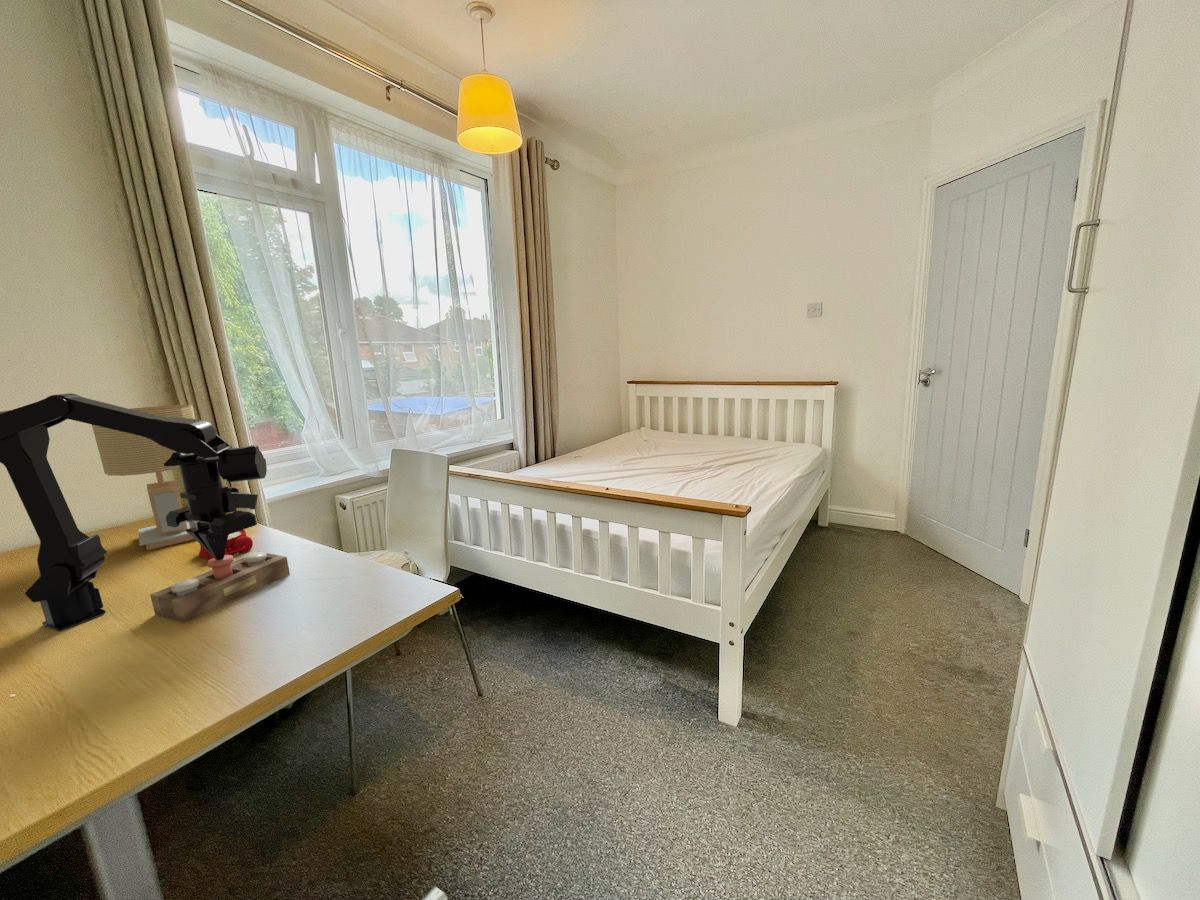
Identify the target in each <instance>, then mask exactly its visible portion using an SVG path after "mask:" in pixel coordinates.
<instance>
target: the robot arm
mask: <svg viewBox="0 0 1200 900" xmlns="http://www.w3.org/2000/svg"><path fill="white" fill-rule="evenodd" d="M67 420H72V421H75V422H80V423H85V424H88V425H91V426H92V425H96V426H100V427H105V428H109V429H113V430H117V431H122V432H126V433H130V434H135V435H139V436H143V437H146V438H148V439H151V440H152V441H154V442H156V443H157V444H159V445H161V446H163V447H166V448H168V449H171V450H174V451H176V452H175V453H173V454H172V455H171V457H170V458H169V459H168V460H167V461H166V462H165V463H164V466H177V465H179V468H178V469H179V471H180V477H181V480H182V484H183V490H184V492H179V494H180V499H185V500H187V506H184V507H183V508H181V509H177V510H173V511H170V512H169V513H168V515H167V516H166V521H167V525H168V526H171V527H177V526H179V524H180V522H184V521H186V522H189V525H190V529H187V530H186V532H187V533H189V534H190V535H191V536H192V537H193V538H194V540H195V541H196V542H198V543H199V545H200V544H201V545H202V546H203V547H204V548H205V549H206V550H207V551H208V552H209V553H210V554H211V555H212V556H213V557H214V558H215V559H216V560H221V559H223V558H224V555H225V549H226V544H227V539H228V536H229V534H232V533H235V532H238V531H241V530H245V529H249V528H253V527H255V526H257V525H258V521H257V515H256V514H254V513H252V512H250V511H246V510H245V511H244V510H237V509H249V510H257V504H258V499H259V498H258V497H259V494H256V493H250V492H249V493H248V492H240V491H239V489H238V488H237V487H233V486H232V487H231V486H230V487H229V486H225V485H223V482H222V480H226V481H227V482H228V483H233V482H234V483H235V482H242V481H243V482H244V481H252V480H253V481H254V480H263V479H265V478H266V476H267V466H268V465H267V460H266V458H265V457H264V455H263V453H262V451H260V449H259V448H260V447H259V445H258V444H254V445H253V444H251V445H249V446H242V447H233V446H232V445H231V444H229V442H227V441H226V440H225V439H223V438H222V437H221V436H220V435H218V434H217V433H216V429H215V428H214V426H213V425H212V423H210V422H208V421H206V420H205V419H204V420H203V419H196V418H195V419H189V418H178V417H162V416H156V415H152V414H148V413H144V412H140V411H136V410H132V409H131V408H126V407H123V406H120V405H116V404H115V405H114V404H111V403H107V402H103V401H98V400H95V399H91V398H88V397H87V398H86V397H83V396H82V395H81V396H80V395H79V394H76V393H69V392H68V393H60V394H52V395H49V396H47V397H46V398H43V399H41V400H39V401H35V402H32V403H29V404H26V405H23V406H20V407H16V408H13V409H11V410H3V411H0V463H1V464H2V465H3V466H4V468H5V469H6V471H7V473H8V475H9V477H10V480H11V482H12V484H13V485H14V488H15V490H16V492H17V495H18V497H19V498H20V501H21V503H22V505H23V508H24V509H25V511H26V513H27V516H28V518H29V520H30V522H31V524H32V526H33V529H34V531H35V533H36V535H37V537H38V540H39V546H38V547H39V548H38V553H37V557H36V563H37V567H38V571H39V577H38V579H36V580H35V581H34V583H33V584H31V585H30V587H29V588H28V589H27V590H26V591H25V592H24V594H25V595H26V597H27V598H28V599H29V600H30V601H31V602H32V603H38V602H39V603H40V607H41V609H42V613H43V616H44V619H45V621H42V622H41V624H42V626H44V627H47V628H49V629H53V630H56V631H58V632H60V631H64V630H65V629H68V628H71V627H73V626H76V625H79V624H82V623H84V622H86V621H89V620H91V619H94V618H96V617H99V616H101V615H103V614H106V609H103V608H104V604H103V600H102V596H101V594H100V590H99V588H97V587H95V586H94V582H92V581H91V580H94V579H95V578H96V577H97V574H98V570H99V569H101V567H102V565H103V564H104V563H105V559H106V558H105V555H106V554H107V553H108V551H107V550H106V549H105V548H104V547H103V545H102V541H101V537H100V535H99V534H97V533H96V534H93V535H91V536H88V535H87V534H85V533H84V532H82V531H81V530H80V529H79V528H78V525H77V523H76V521H75V519H74V517H73V514H72V512H71V510H70V507H69V506H68V503H67V500H66V499H65V497H64V494H63V492H62V490H61V488H60V485H59V483H58V481H57V478H56V476H55V474H54V472H53V469H52V467H51V464H50V463H49V460H48V455H47V454H48V449H49V445H50V441H51V440H50V435H49V431H48V429H49V428H52V427H54V426H57V425H59V424H61V423H63V422H65V421H67ZM183 453H184V454H183ZM190 453H193V454H190ZM185 454H189V455H185Z"/></svg>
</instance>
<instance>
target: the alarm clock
mask: <svg viewBox="0 0 1200 900" xmlns="http://www.w3.org/2000/svg"><path fill="white" fill-rule="evenodd" d="M253 545H254V542H253V539H252V538H251V537H250V536H247V532H246V530H245V529H243V530H241V531H238V532H235V533H232V534H229V536H228V539H227V544H226V549H225V555H232V556H233V555H235V554H245V553H247V552H249V551H250V550H251V549H252V548H253ZM199 547H200V548H199V552H198V556H199V558H201V559H206V560H208V561H209V560H210V559H212V558H214V557H213V556H212V555H211V554H210V553H209V552H208V551H207V550H206V549H205V548H204V547H203V546H202V545H201V544H200V543H199Z"/></svg>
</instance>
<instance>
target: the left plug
mask: <svg viewBox="0 0 1200 900" xmlns="http://www.w3.org/2000/svg"><path fill="white" fill-rule="evenodd" d="M199 585H200V584H199V580H198V579H191V578H189V579H184V580H181V581H179V582H176V583H174V584H172V585H171V586H172V587H171V589H172V593H176V594H177V596H179V597H181V596H183V595H185V594H188V593H190V592H193V591H195V590H197V587H198V586H199Z"/></svg>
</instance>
